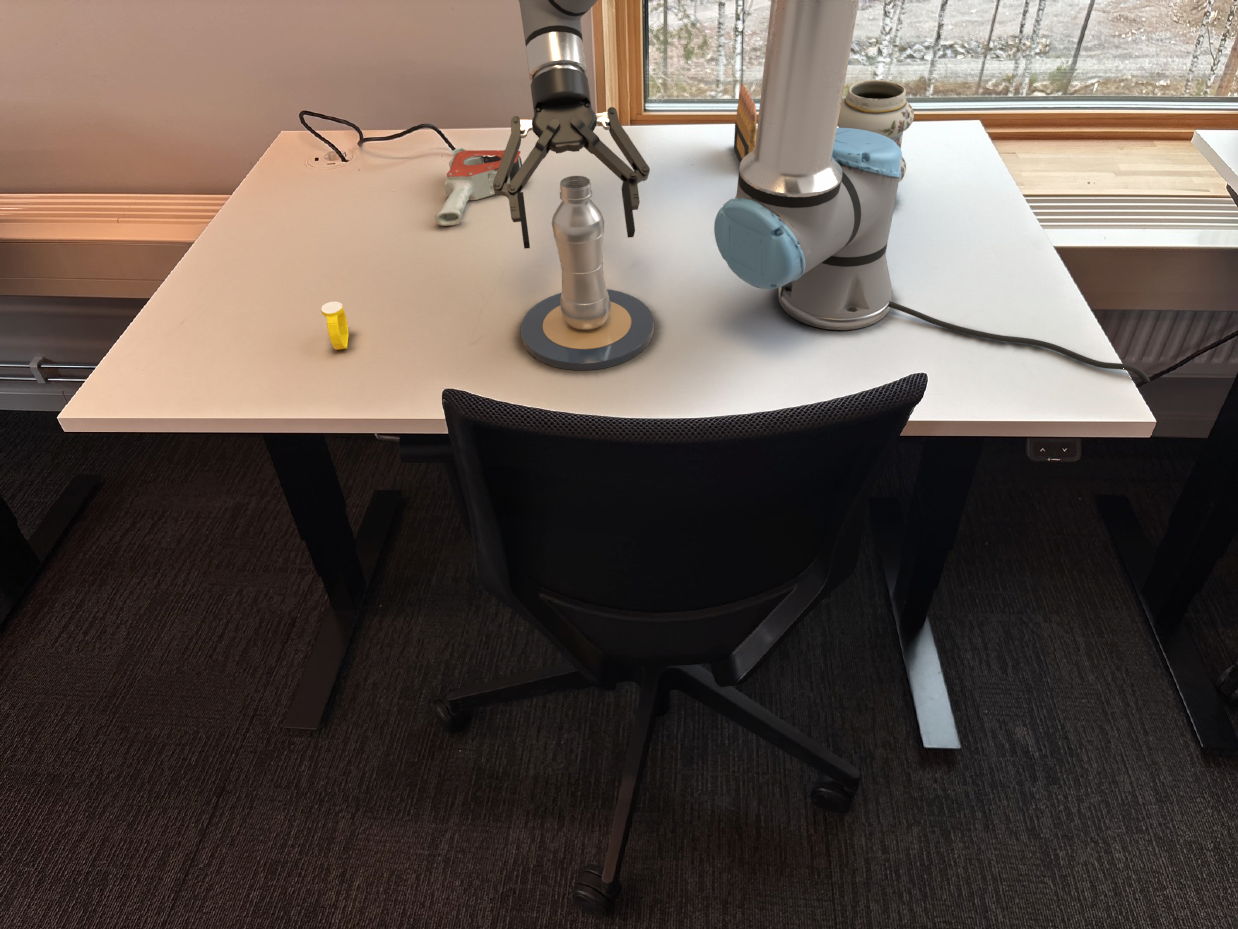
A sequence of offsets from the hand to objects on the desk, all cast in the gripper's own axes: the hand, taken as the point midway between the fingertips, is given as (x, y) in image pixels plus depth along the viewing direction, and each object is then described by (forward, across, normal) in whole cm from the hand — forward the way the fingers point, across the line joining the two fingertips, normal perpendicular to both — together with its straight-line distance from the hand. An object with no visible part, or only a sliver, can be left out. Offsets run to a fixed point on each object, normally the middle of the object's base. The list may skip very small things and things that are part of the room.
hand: (579, 240), depth 115 cm
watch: (+8, +33, -10) cm, 35 cm away
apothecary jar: (-9, -48, -27) cm, 56 cm away
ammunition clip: (-23, -34, -40) cm, 57 cm away
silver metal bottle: (+10, 0, -6) cm, 11 cm away
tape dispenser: (-21, +15, -38) cm, 46 cm away
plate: (+10, 0, -7) cm, 12 cm away
